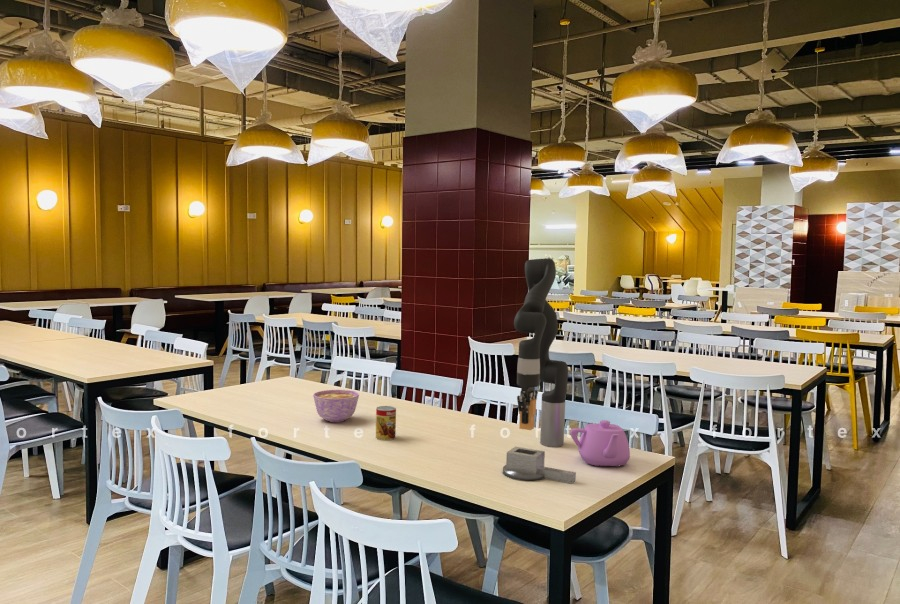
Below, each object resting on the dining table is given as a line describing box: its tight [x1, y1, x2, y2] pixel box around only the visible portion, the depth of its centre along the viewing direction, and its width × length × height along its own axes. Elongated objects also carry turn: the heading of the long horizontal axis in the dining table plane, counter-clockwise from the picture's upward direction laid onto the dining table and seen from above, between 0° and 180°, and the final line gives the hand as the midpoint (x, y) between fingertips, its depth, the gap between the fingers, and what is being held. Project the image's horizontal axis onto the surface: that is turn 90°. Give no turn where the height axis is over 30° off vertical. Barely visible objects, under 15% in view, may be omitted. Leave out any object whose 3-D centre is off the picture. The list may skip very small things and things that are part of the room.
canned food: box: [375, 405, 397, 441], centre depth 257 cm, size 8×8×12 cm
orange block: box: [518, 399, 537, 431], centre depth 216 cm, size 3×5×10 cm, turn 62°
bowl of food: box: [312, 389, 360, 423], centre depth 283 cm, size 20×20×12 cm
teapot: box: [569, 419, 631, 467], centre depth 229 cm, size 23×21×15 cm
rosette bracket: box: [502, 446, 577, 485], centre depth 214 cm, size 15×24×8 cm, turn 62°
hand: (526, 422), depth 216 cm, fingers closed on orange block, 3 cm apart
